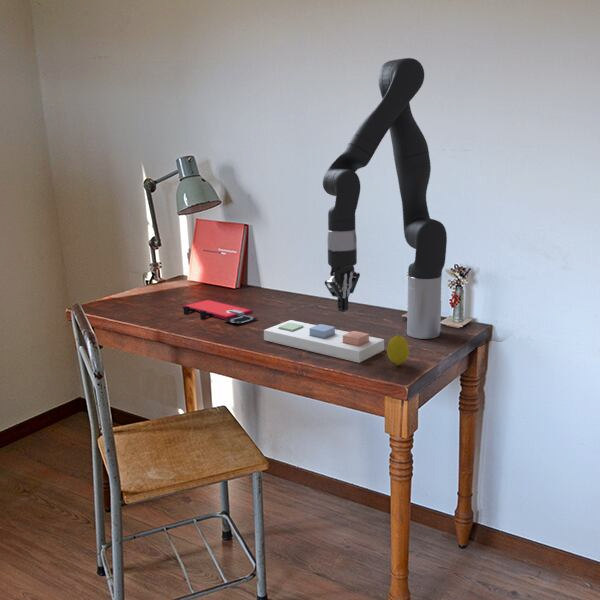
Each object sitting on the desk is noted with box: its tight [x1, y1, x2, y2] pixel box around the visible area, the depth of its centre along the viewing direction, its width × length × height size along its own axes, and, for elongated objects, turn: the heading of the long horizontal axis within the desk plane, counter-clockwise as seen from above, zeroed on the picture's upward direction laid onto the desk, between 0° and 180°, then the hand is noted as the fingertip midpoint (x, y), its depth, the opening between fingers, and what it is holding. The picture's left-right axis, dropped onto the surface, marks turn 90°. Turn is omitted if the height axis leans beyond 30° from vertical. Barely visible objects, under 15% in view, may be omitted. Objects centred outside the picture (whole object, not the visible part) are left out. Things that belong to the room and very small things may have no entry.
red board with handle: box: [181, 299, 258, 325], centre depth 227 cm, size 30×3×15 cm
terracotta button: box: [343, 330, 370, 347], centre depth 188 cm, size 5×5×2 cm
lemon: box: [386, 334, 410, 367], centre depth 178 cm, size 6×6×8 cm
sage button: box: [279, 323, 303, 332], centre depth 201 cm, size 5×5×2 cm
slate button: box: [309, 323, 336, 339], centre depth 194 cm, size 5×5×2 cm
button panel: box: [263, 319, 385, 364], centre depth 195 cm, size 12×32×3 cm, turn 52°
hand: (343, 310), depth 189 cm, fingers closed
